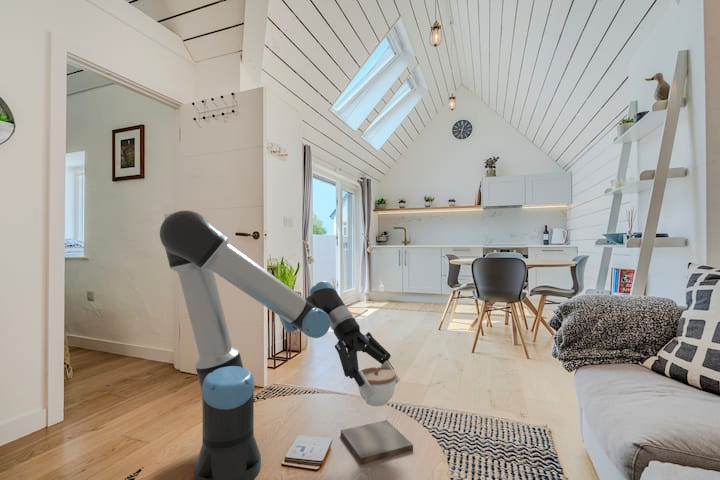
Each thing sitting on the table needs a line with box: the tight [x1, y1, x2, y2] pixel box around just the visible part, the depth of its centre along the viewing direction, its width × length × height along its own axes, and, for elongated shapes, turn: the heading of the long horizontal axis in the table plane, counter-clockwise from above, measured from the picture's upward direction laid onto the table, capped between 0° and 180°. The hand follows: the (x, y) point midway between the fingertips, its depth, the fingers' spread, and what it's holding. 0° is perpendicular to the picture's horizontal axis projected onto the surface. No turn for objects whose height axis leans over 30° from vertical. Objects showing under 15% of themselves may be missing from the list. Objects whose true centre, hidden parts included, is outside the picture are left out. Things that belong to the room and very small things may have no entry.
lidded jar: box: [357, 366, 397, 407], centre depth 97 cm, size 11×11×9 cm
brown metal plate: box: [340, 419, 414, 465], centre depth 96 cm, size 15×15×2 cm
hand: (384, 388), depth 95 cm, fingers closed on lidded jar, 11 cm apart
